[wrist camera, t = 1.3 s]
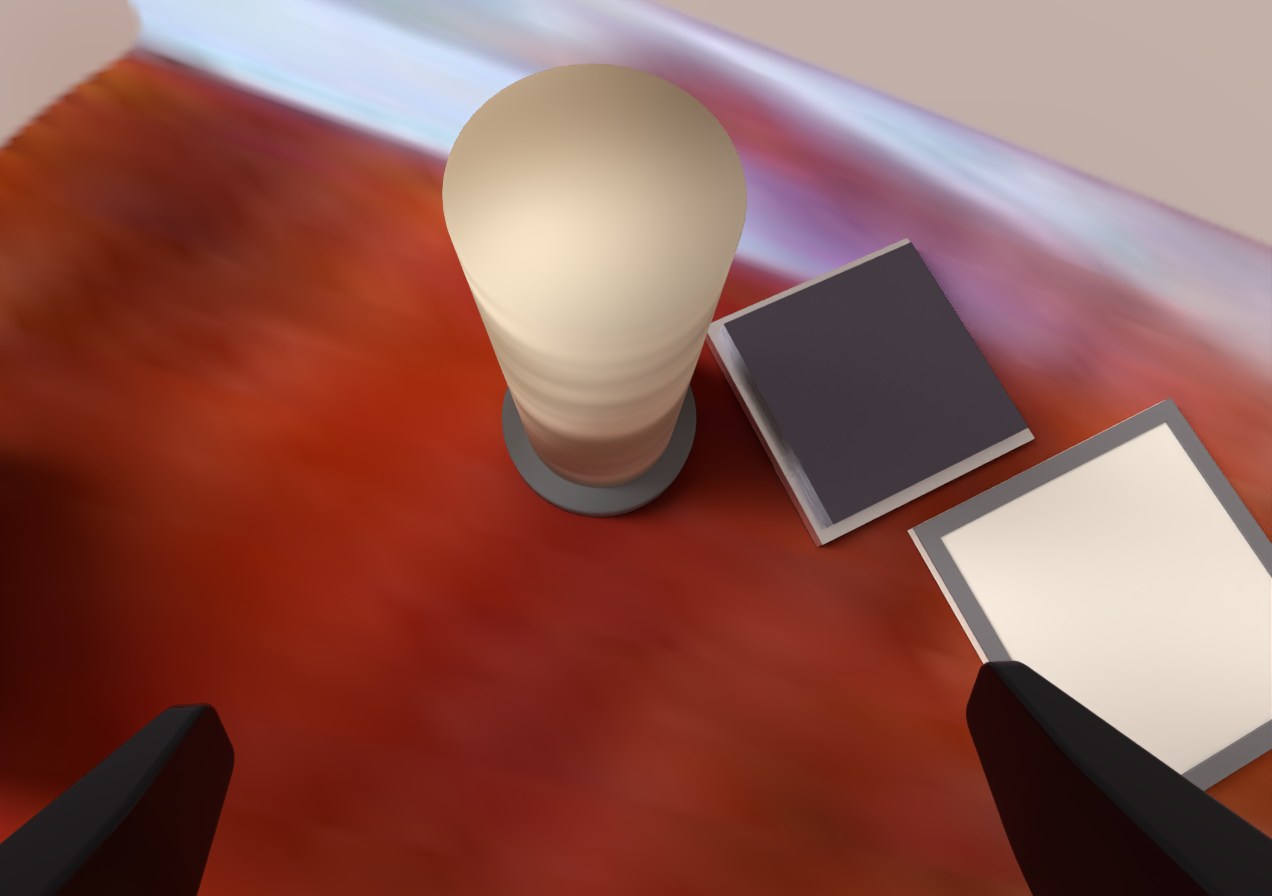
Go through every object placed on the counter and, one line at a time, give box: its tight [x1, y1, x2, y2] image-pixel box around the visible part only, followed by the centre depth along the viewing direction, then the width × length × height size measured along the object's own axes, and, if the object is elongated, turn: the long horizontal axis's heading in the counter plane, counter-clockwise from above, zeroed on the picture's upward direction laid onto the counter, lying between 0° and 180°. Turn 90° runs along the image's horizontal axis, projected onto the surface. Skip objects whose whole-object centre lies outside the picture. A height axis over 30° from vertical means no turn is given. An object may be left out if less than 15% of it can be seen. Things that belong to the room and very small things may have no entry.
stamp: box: [442, 64, 747, 517], centre depth 17 cm, size 6×6×13 cm
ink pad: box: [705, 238, 1035, 547], centre depth 23 cm, size 8×8×1 cm
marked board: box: [908, 398, 1272, 791], centre depth 22 cm, size 10×10×1 cm
